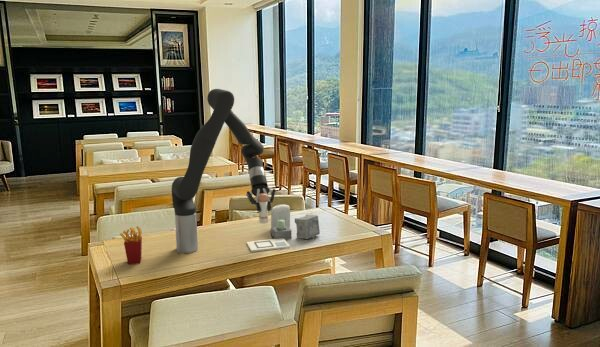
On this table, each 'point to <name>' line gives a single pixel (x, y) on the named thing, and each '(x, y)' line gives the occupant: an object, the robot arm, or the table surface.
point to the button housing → (281, 232)
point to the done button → (281, 224)
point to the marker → (263, 208)
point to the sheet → (268, 244)
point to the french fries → (133, 245)
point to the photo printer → (280, 215)
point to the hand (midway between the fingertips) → (264, 210)
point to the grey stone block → (307, 226)
